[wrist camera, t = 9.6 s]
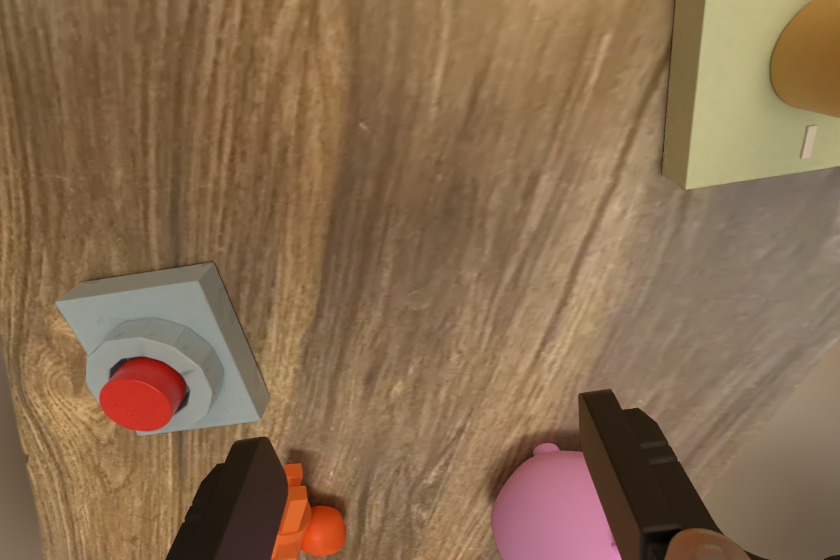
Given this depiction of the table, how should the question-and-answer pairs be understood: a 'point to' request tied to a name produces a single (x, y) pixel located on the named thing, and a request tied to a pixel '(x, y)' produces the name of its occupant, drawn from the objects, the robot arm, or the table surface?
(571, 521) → the teapot
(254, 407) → the grey button base
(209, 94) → the table surface
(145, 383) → the bell button
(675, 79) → the plate
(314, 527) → the orange fox minifigure
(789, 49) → the lock knob
